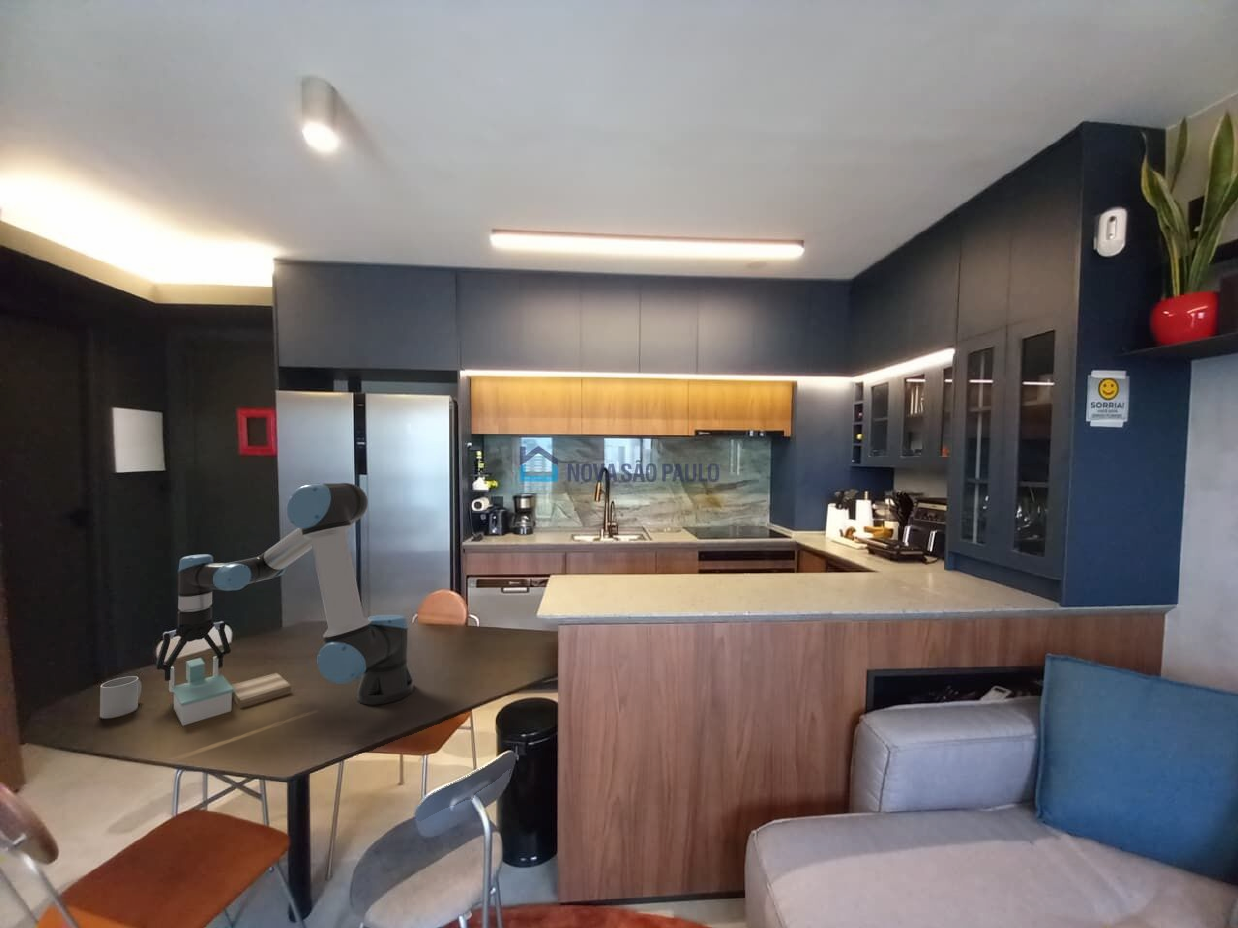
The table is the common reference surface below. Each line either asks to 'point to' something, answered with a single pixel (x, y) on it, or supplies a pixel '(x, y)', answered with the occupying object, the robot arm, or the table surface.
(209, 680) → the lid
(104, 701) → the cup
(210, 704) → the tub
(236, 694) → the wooden block
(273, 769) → the table surface
